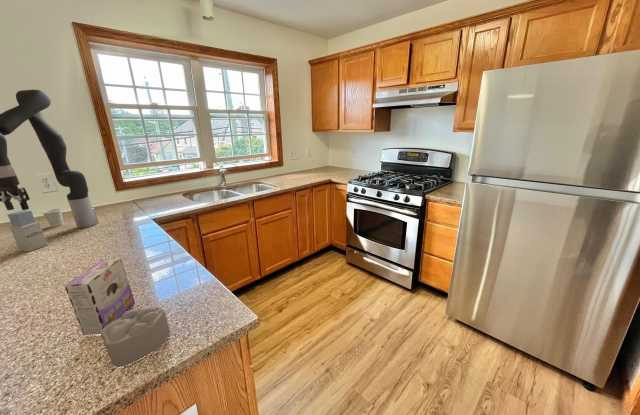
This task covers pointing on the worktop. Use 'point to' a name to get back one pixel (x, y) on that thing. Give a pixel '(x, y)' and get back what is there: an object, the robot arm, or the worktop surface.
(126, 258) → the worktop surface
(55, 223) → the dixie cup
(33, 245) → the supplement box
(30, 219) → the blue block
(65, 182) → the robot arm
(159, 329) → the grey lumpy block
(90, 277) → the candy box
